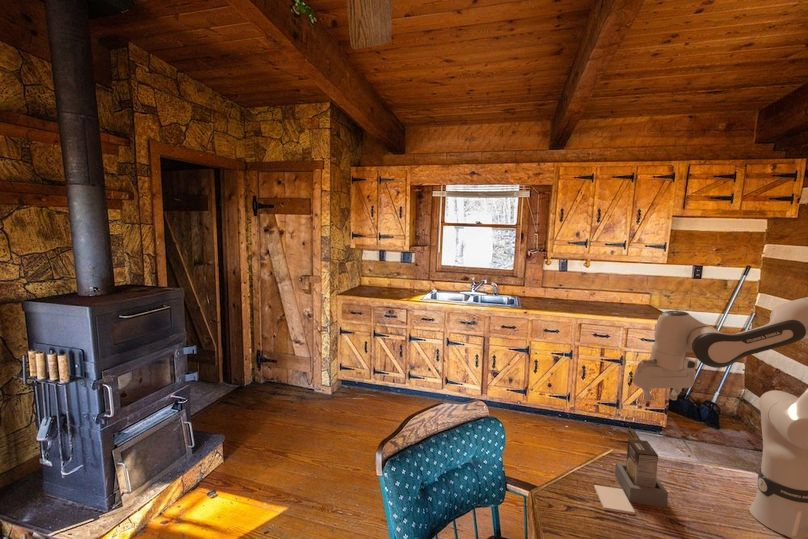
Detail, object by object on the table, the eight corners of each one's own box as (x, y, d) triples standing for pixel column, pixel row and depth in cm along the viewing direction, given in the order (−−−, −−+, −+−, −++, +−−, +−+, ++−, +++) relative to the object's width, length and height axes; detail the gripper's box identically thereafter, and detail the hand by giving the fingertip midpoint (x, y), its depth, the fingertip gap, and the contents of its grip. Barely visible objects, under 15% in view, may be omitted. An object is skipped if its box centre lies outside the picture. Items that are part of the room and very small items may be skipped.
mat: (622, 491, 127) (622, 489, 127) (634, 514, 117) (634, 512, 117) (593, 487, 129) (594, 484, 129) (603, 509, 119) (603, 507, 119)
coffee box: (624, 480, 133) (627, 438, 132) (643, 483, 132) (647, 440, 130) (634, 498, 124) (637, 452, 123) (655, 501, 123) (659, 455, 122)
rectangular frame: (648, 479, 134) (649, 466, 133) (666, 507, 120) (667, 492, 120) (615, 475, 136) (615, 462, 136) (629, 501, 122) (630, 487, 122)
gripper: (647, 363, 115) (640, 405, 117) (702, 363, 119) (694, 403, 121) (631, 356, 121) (625, 395, 123) (684, 355, 125) (677, 394, 127)
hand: (660, 399), depth 122 cm, fingers open, 8 cm apart
